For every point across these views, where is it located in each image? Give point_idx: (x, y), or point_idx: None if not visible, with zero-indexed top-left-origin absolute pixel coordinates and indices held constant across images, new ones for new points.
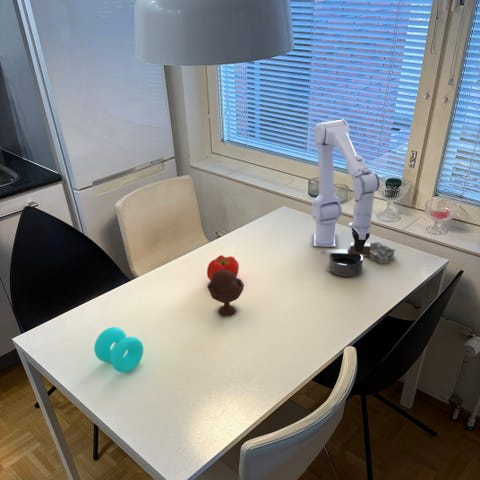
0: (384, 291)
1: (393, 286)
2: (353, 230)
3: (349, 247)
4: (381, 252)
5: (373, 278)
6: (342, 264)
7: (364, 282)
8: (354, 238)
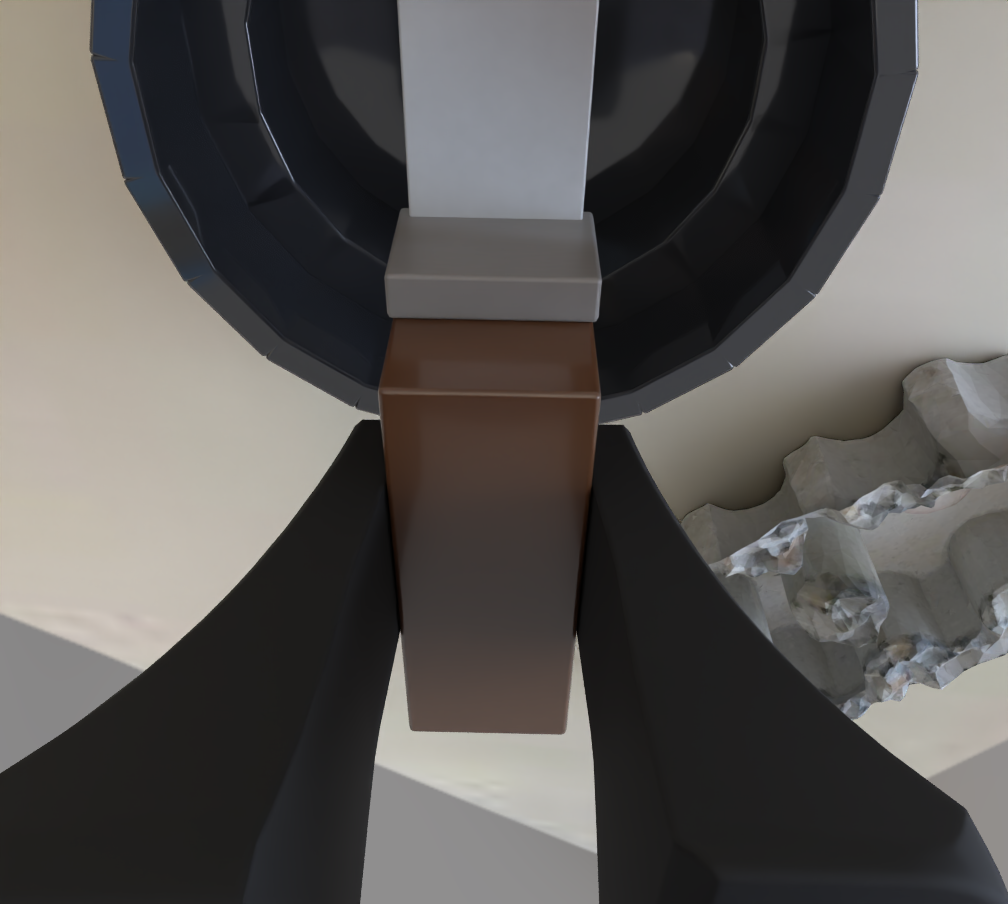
0: (23, 496)
1: (168, 577)
2: (653, 824)
3: (516, 310)
4: (819, 606)
5: (295, 419)
6: (102, 17)
7: (155, 309)
8: (56, 753)
